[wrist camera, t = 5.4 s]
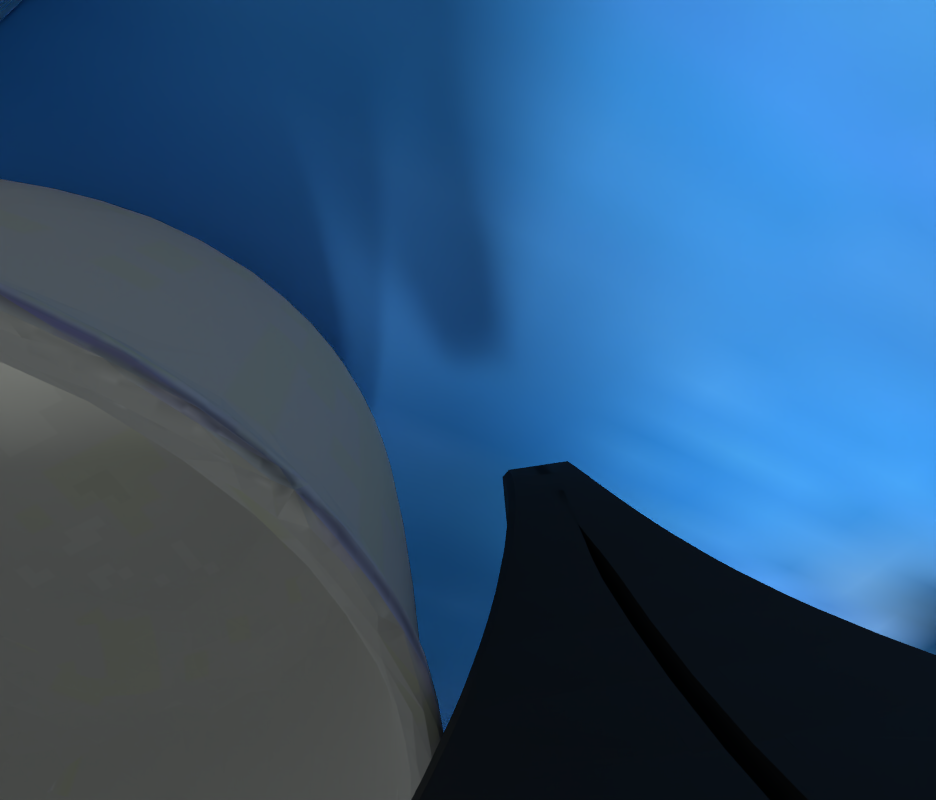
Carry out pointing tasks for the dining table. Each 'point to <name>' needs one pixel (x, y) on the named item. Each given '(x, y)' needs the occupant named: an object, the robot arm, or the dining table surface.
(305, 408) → the teacup
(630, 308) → the dining table surface
